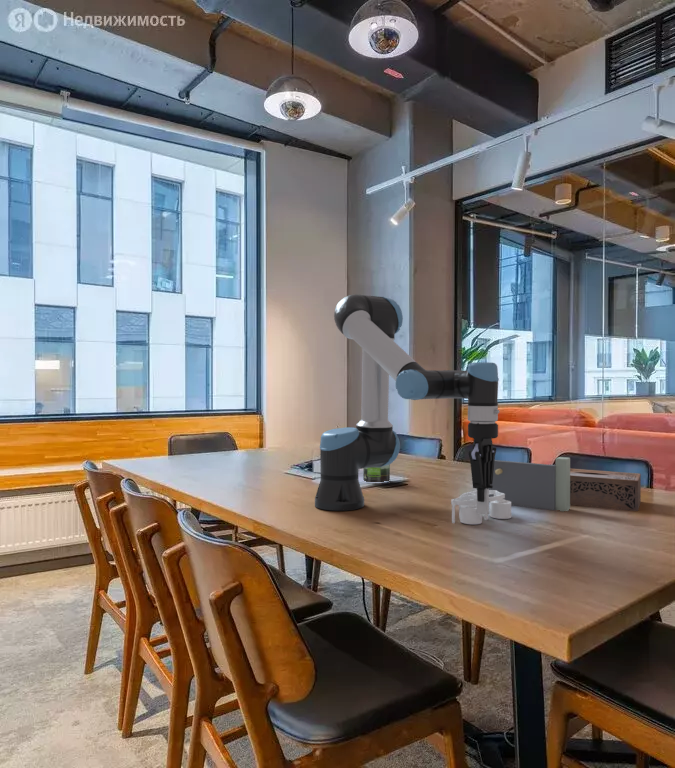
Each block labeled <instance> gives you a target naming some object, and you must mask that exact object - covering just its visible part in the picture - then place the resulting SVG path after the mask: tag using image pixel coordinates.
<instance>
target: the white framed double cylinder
mask: <svg viewBox="0 0 675 768" xmlns="http://www.w3.org/2000/svg"><path fill="white" fill-rule="evenodd" d="M489 494H494V497H489V514H488V515H489V517H491V518H493V519H499V520H507V519H508V520H509V519H511V518H512V505H511V501H508V500H505V499H503V498H505V494H504V493H500V492H498V491H497V490H489ZM450 500H451V501H450V502H451V503H450V504H451V523H452V524H455V523H456V506H458V514H459V515H458V519H459V522H460V523H462V524H465V525H480V524H482V523H483V519H484V521H488V518H489V517H488V515H484V514H477V490H472V491H468V492H463V493H461V494H460V495H459V496H458V497H456V498H451V499H450ZM483 515H484V516H483ZM483 517H484V518H483Z"/></svg>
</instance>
